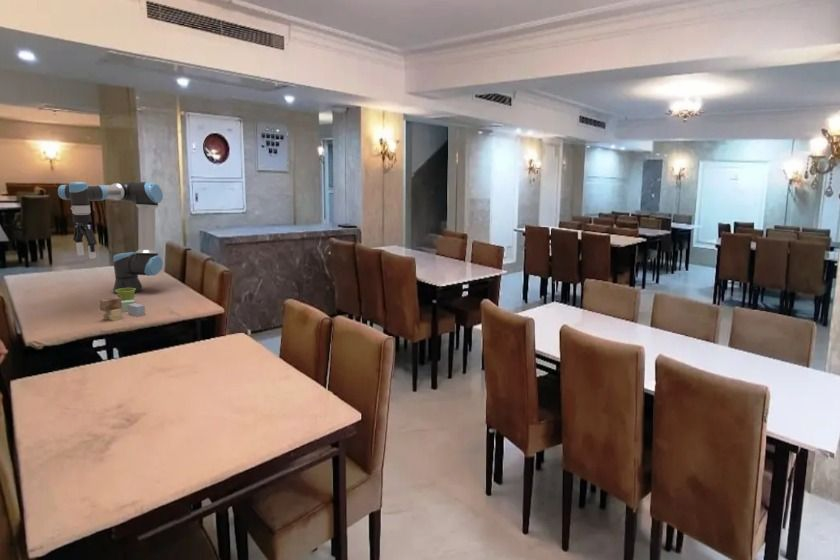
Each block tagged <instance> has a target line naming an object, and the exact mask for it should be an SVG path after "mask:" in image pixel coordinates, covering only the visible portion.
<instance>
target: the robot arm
mask: <svg viewBox="0 0 840 560" xmlns="http://www.w3.org/2000/svg"><path fill="white" fill-rule="evenodd" d="M57 195H58V196H59V198H60V199H62V200H65V201H70V205H71V207H70V210H71V212H72V213H71V214H72V222H73V223H74V224H73V227H74V228H73V229H74V230H73V239H72V241H74V242H75V243H76V244H75V245H76V253H77V254H76V255H77V256H85V252H84V250H85V249H84V242H83V238H85V240H86V242H87V244H86V245H87V249H88V258H89V259H90V260H92V259H93V260H94V259H97V255H96V247H95V246H96V245H97V243H98V242H97V239H96V237H95V233H94V230H93V227H92V224H89V223H91V222H92V216H91V212H92V211H91V204H90V202H94V201H96V202H97V201H99V202H100V201H105V200H114V201H121V202H122V201H124V202H131V203H135V206H136V208H138V250H136V251H135V252H134V251H130V252H123V253H117V254H114V255H113V268H114V277H115V281H114V284H113V288H112V291H113V294H116V295H118V294H117V292H116V291H115V290H117V289H121V288H135V289H136V290H135V293H134V294H136V293H141V292H143V290H144V289H143V285H142V283H141V282H140V281H141V280H140V279H139V276H147V277H148V276H150V277H151V276H157V275H159V274H160V272H161V270H162V269H163V259H162V257H161V256H159V252H158V251H157V250H156V209H157V208H158V207H159V204H160V203H161V202H162V200H163V199H164V197H163V196H164V194H163V191H162V188H161V187H160V185H158V184H157V183H156V182H149V181H127V182H118V183H116V182H114V183H112V184H88V183H87V182H85V181H71V182H69V183H68V184H61V185H59V186H58V189H57Z"/></svg>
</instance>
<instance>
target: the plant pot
mask: <svg viewBox="0 0 840 560" xmlns="http://www.w3.org/2000/svg"><path fill="white" fill-rule="evenodd" d="M135 290H136V289H135V288H121V289H117V290H115V291H116V292H117V294H116V295H117V297H118V298H121V301H126V300H134V301H135V294H136V293H135Z"/></svg>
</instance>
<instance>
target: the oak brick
mask: <svg viewBox="0 0 840 560" xmlns="http://www.w3.org/2000/svg"><path fill="white" fill-rule="evenodd" d="M101 312H102V319H103V320H107V319H108V321H113V322H115V321H119V320H122V312H121V309H115V310H110V311H106V312H105V311H102V310H101Z"/></svg>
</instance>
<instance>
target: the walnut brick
mask: <svg viewBox="0 0 840 560" xmlns="http://www.w3.org/2000/svg"><path fill="white" fill-rule="evenodd" d="M99 307H100V311H101V312H102V311H105V312H106V311H110V310H115V309H120V308H122V303H121V298H118V296H114V297H109V298H103V299H99Z"/></svg>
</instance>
